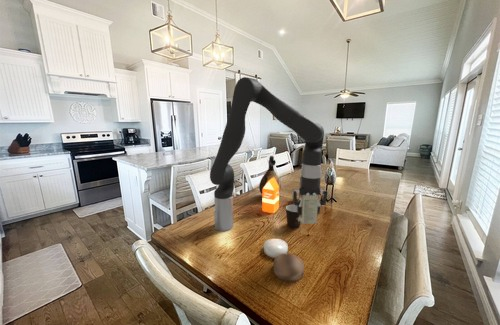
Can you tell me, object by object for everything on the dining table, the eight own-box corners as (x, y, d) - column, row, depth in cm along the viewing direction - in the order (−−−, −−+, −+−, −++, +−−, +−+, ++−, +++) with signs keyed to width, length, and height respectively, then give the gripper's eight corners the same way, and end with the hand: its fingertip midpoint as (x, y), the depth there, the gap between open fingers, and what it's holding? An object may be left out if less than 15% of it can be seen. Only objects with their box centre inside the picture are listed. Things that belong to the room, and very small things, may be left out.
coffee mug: (289, 231, 104) (290, 212, 102) (282, 222, 112) (283, 205, 110) (310, 227, 107) (311, 209, 105) (301, 220, 115) (302, 203, 113)
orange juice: (262, 211, 127) (262, 179, 123) (267, 205, 134) (268, 176, 130) (273, 213, 123) (274, 181, 119) (279, 208, 131) (279, 177, 127)
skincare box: (313, 218, 87) (315, 191, 85) (316, 223, 83) (319, 195, 81) (298, 218, 87) (300, 191, 85) (301, 224, 83) (303, 195, 80)
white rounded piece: (265, 258, 84) (265, 252, 83) (263, 243, 93) (263, 238, 93) (289, 257, 84) (289, 252, 83) (285, 243, 94) (285, 238, 93)
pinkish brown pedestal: (276, 282, 71) (276, 274, 71) (271, 260, 82) (272, 254, 81) (307, 281, 72) (307, 273, 71) (299, 260, 82) (299, 253, 82)
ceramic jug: (282, 201, 141) (283, 158, 135) (259, 201, 141) (259, 158, 135) (279, 192, 157) (280, 154, 151) (258, 192, 158) (259, 154, 152)
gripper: (294, 177, 77) (292, 218, 81) (332, 177, 77) (329, 218, 81) (290, 172, 84) (288, 210, 88) (325, 172, 85) (322, 210, 88)
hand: (308, 214), depth 84 cm, fingers closed on skincare box, 6 cm apart
